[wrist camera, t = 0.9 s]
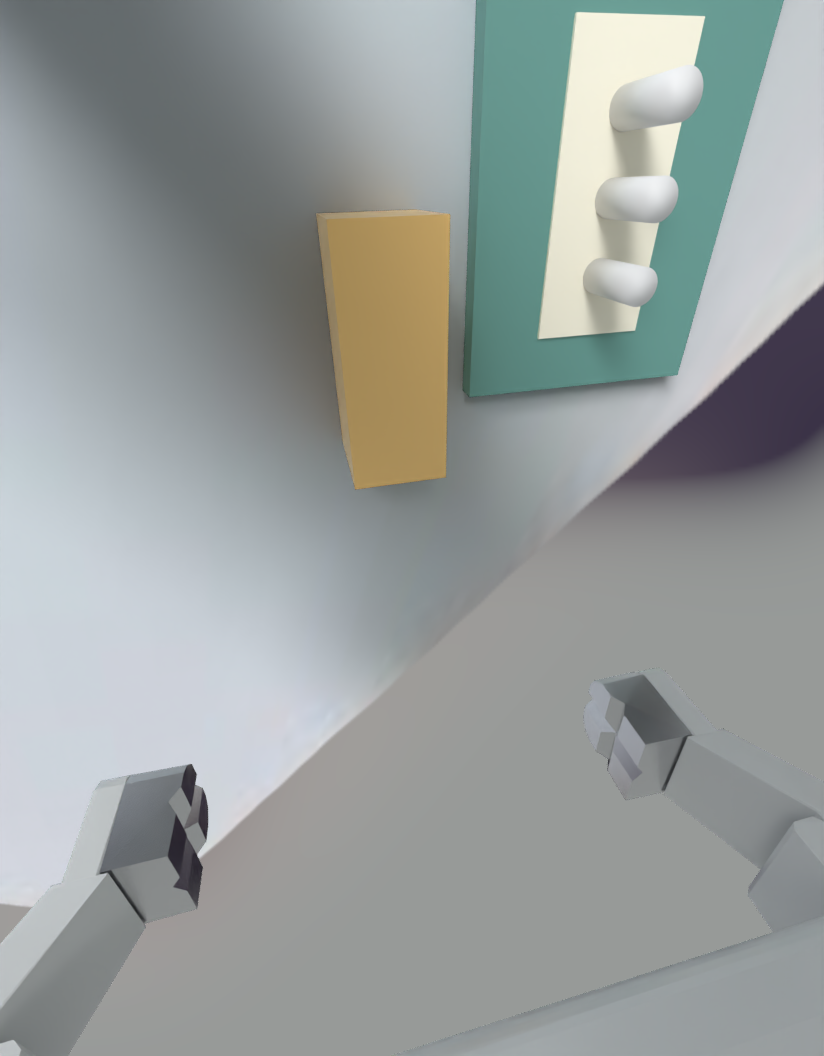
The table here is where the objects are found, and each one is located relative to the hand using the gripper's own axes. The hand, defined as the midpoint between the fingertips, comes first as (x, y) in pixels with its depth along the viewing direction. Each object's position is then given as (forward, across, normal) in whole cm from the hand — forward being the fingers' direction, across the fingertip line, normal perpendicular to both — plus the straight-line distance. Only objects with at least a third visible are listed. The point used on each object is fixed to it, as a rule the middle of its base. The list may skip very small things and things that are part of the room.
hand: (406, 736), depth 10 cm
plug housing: (+27, -4, -3) cm, 27 cm away
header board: (+26, -18, -10) cm, 33 cm away
